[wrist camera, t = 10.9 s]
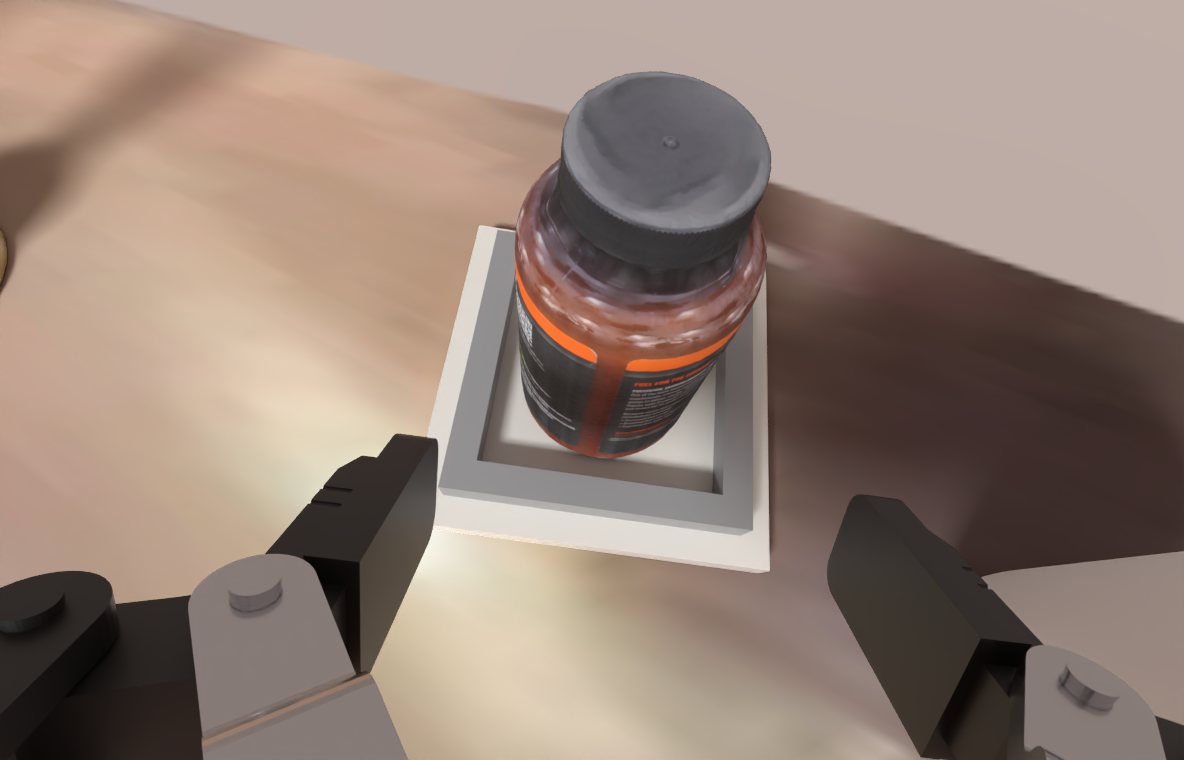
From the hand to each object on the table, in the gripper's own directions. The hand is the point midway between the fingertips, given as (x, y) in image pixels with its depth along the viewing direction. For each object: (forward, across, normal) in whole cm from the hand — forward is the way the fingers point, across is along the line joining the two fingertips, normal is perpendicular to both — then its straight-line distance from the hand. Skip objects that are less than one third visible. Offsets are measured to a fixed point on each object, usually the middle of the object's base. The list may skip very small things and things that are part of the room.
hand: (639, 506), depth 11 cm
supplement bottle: (+10, 0, +2) cm, 10 cm away
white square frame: (+11, 0, +2) cm, 11 cm away
